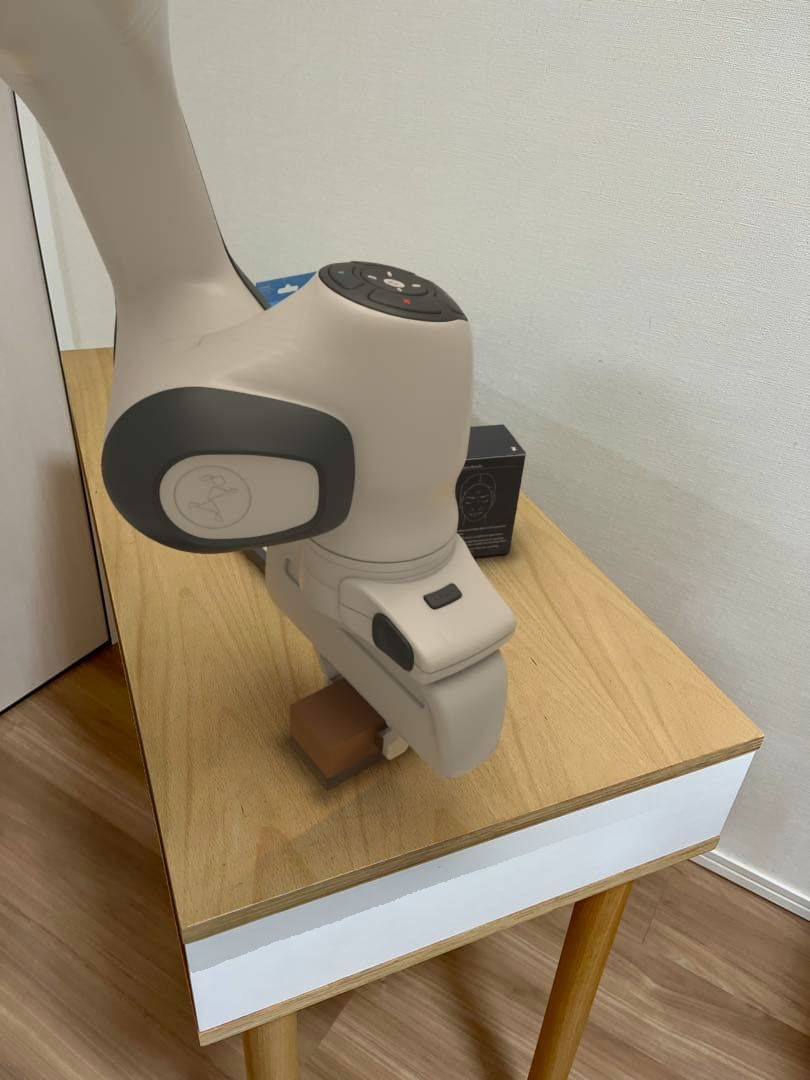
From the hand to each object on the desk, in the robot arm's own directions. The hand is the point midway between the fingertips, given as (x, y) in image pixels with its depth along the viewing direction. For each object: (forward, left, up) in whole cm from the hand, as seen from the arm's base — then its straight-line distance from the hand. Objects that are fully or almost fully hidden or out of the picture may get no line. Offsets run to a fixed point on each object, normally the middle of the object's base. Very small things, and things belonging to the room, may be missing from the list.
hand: (365, 720), depth 55 cm
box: (+21, +14, -2) cm, 25 cm away
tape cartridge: (+26, +50, -2) cm, 56 cm away
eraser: (0, 0, -2) cm, 2 cm away
